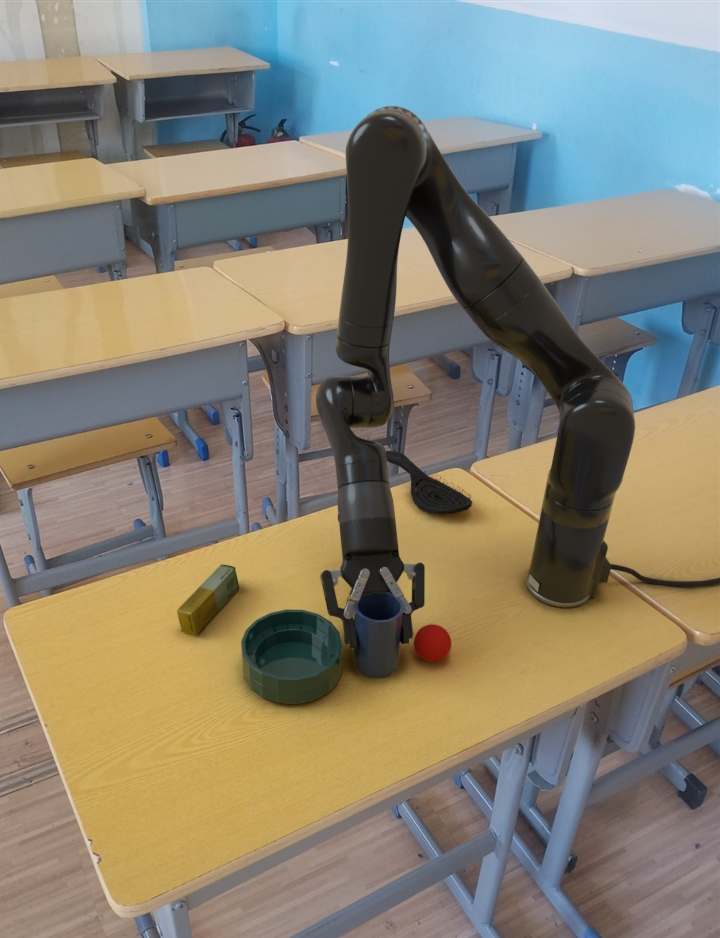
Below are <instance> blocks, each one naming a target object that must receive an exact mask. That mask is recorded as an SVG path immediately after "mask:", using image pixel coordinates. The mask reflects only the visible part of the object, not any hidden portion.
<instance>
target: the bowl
mask: <svg viewBox="0 0 720 938" xmlns="http://www.w3.org/2000/svg"><path fill="white" fill-rule="evenodd" d="M240 645H241V647H240V648H241V657H242V658H241V659H242V671H243V672H242V673H243V679H244V680H245V682H246V684H247V685H248V687H249V689H250V690H252V692H254V693H255V694H257V695H258V696H260V697H261V698H262V699H264V700H268V701H272V702H274V703H278V704H285V705H287V704H289V705H298V704H303V703H307V702H311V701H315V700H317V699H320V698H321V697H323V696H324V695H326V694H327V693H329V692H330V691H331V690H332V689H333V687H334V686H335V685H336V684H337V683H338V682H339V680H340V676H341V672H342V668H343V642H342V637H341V633H340V631H339V630H338V628H337V627H336V626H335V624H334V623H333V622H332V621H331V620H330V619H328V618H326V617H324V616H323V615H321V614H320V613H317V612H313V611H309V610H306V609H291V608H290V609H280V610H277V611H273V612H269V613H267V614H265V615H263V616H261V617H259V618H257V619H256V620H254V621H253V622H252V623H251V624H250V625H249V626H248V627H247V628H246V629H245V632H244V633H243V636H242V638H241V641H240Z"/></svg>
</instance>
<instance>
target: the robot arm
mask: <svg viewBox="0 0 720 938" xmlns="http://www.w3.org/2000/svg"><path fill="white" fill-rule="evenodd" d="M345 168H346V169H345V173H346V189H347V210H348V212H347V214H348V215H347V216H348V217H347V218H348V219H347V222H348V223H347V224H348V227H347V228H348V229H347V248H346V258H345V269H344V275H343V284H342V289H341V295H340V296H341V297H340V303H339V304H340V305H339V313H338V320H337V321H338V322H337V331H336V339H335V340H336V341H335V352H336V355H337V357H338V359H339V360H340V361H342V362H343V363H344V364H346V365H350V366H353V367H358V368H361V369H365V370H367V375H332V376H328V377H325V379H323V380H322V381H321V382H320V384H319V385H318V387H317V390H316V395H315V406H316V411H317V413H318V417H319V420H320V422H321V425H322V427H323V430H324V433H325V434H326V437H327V439H328V443H329V445H330V449H331V452H332V456H333V460H334V465H335V474H336V475H335V476H336V485H337V522H338V526H339V538H340V546H341V557H342V562H341V565H340V568H337V569H332V570H329V569H325V570H323V571H322V572H321V573H320V582H321V586H322V591H323V592H322V593H323V596H324V602H325V606H326V610H327V614H328V616H330V617H335V618H337V619H340V620H341V621H342V630H343V639H344V643H345V644H346V646H347V645H349V648H350V650H353V649H354V648H357V636H356V627H355V619H354V606H355V602H356V600H360V597H361V595H362V594H364V595H365V596H370V595H372V594H375V593H376V594H386V593H387V592H390V593H392V594H393V595H394V597H399V598H400V599H401V600H402V603H403V606H404V611H403V623H402V634H401V645H407V644H410V640H412V639H413V637H414V630H413V620H412V614H413V613H414V612H415V611H417V610H419V609H422V608H424V606H425V601H426V599H425V597H426V595H425V594H426V593H425V591H426V589H425V588H426V585H425V582H426V581H425V579H426V578H425V577H426V575H425V573H426V569H425V568H426V567H425V564H424V563H423V562H417V563H404V562H403V560H402V558H401V555H400V551H399V550H400V549H399V542H398V541H399V540H398V532H397V522H396V511H395V504H394V498H393V494H392V490H391V485H390V477H389V475H390V474H389V467H388V466H389V465H388V461H387V455H386V451H387V450H386V448H385V446H384V445H383V444H381V443H380V442H377V441H373V440H369V439H364V438H362V437H360V436H357V435H356V434H355V433H354V432H353V430H352V429H360V428H361V429H363V428H380V427H382V426H384V425H385V424H387V422H389V420H390V419H391V417H392V416H393V412H394V410H395V409H394V408H395V400H394V399H395V398H394V397H395V396H394V390H393V385H392V378H391V369H390V367H391V366H390V347H391V338H392V332H393V325H394V319H395V310H396V302H397V286H398V285H397V283H398V278H397V277H398V261H399V260H398V259H399V252H400V251H399V250H400V243H401V237H402V232H403V227H404V223H405V219H406V218H407V219H408V221H409V222H410V223H411V224H412V225H413V227H414V228H415V230H416V231H417V232H418V234H419V235H420V237H421V239H422V241H423V242H424V243H425V246H426V247H427V249H428V251H429V253H430V256H431V257H432V259H433V261H434V263H435V265H436V268H437V269H438V271H439V273H440V276H441V277H442V279H443V281H444V283H445V285H446V286H447V288H448V290H449V291H450V293H451V294H452V297H454V299H455V301H456V302H457V303H458V304H459V306H460V307H461V308H462V309H463V311H464V313H466V314H467V316H468V317H469V318H470V320H471V321H472V322H473V323H474V324H475V326H476V327H477V328H478V329H479V330H480V331H481V332H482V333H483V335H485V336H486V337H487V338H488V340H490V341H491V343H493V344H495V345H496V346H497V347H498V348H500V349H501V350H504V351H505V352H506V353H508V354H509V355H511V356H512V357H514V358H515V359H517V360H518V361H520V362H521V363H523V365H525V366H526V367H527V368H529V369H530V370H531V372H532V373H533V374H534V376H536V377H537V379H538V380H539V381H540V383H541V384H542V386H543V387H544V389H545V390H546V391H547V393H548V394H549V396H550V397H551V399H552V401H553V403H554V404H555V406H556V408H557V410H558V413H559V414H558V415H559V419H558V430H557V436H556V441H555V446H554V451H553V457H552V460H551V461H552V462H551V465H550V468H549V470H548V473H547V478H546V483H545V489H544V493H543V497H542V498H543V499H542V503H541V508H540V514H539V519H538V525H537V529H536V535H535V540H534V546H533V551H532V554H531V561H530V564H529V569H528V574H527V578H526V587H527V589H528V592H529V593H530V594H531V595H532V596H533V597H534V598H535V599H537V600H538V601H540V602H542V603H544V604H547V605H549V606H551V607H552V606H553V607H555V608H556V607H557V608H575V607H579V606H581V605H584V604H585V603H586V602H588V600H589V599H595V598H596V596H597V593H598V589H599V584H607V583H608V582H609V577H610V574H611V571H617V572H624V573H626V574H629V575H631V576H633V577H634V578H636V579H637V580H639V581H640V582H644V583H647V584H651V585H658V586H667V587H678V588H679V587H682V588H683V587H684V588H685V587H705V586H713V585H718V584H720V577H717V578H712V579H704V580H690V581H688V580H687V581H685V580H683V581H682V580H680V581H678V580H664V579H657V578H653V577H648V576H645V575H642V574H641V573H639V572H638V571H636V570H635V569H633V568H630V567H627V566H623V565H619V564H613V563H610V562H609V560H608V558H607V553H608V550H609V545H608V543H607V542H606V541H605V537H606V534H607V529H608V525H609V521H610V518H611V513H612V510H613V505H614V501H615V498H616V494H617V491H619V489H620V487H621V485H622V482H623V479H624V475H625V472H626V468H627V466H628V461H629V458H630V454H631V452H632V448H633V444H634V439H635V433H636V420H635V419H636V418H635V413H634V412H635V411H634V404H633V399H632V396H631V393H630V391H629V390H628V388H627V387H626V385H625V384H624V383H623V382H622V380H621V379H620V378H619V377H618V376H617V375H616V374H615V373H614V372H613V371H612V370H611V369H610V368H609V367H608V366H607V365H606V364H605V363H604V362H603V361H602V360H601V359H600V357H598V356H597V354H595V352H593V351H592V350H591V349H590V348H589V346H588V345H586V343H585V342H584V341H583V340H582V338H581V337H580V336H579V335H578V333H577V332H576V330H575V329H574V327H573V326H572V325H571V323H570V322H569V320H568V318H567V316H566V315H565V313H564V312H563V310H562V309H561V307H560V306H559V305H558V303H557V301H556V300H555V299H554V297H553V296H552V294H551V293H550V291H549V290H548V288H547V286H545V284H544V283H543V281H542V280H541V278H540V277H539V276H538V275H537V273H536V272H535V270H534V269H533V268H532V266H531V265H530V264H529V263H528V261H527V260H526V259H525V258H524V256H523V255H522V254H521V252H520V251H519V250H518V249H517V248H516V246H515V245H514V244H513V243H512V242H511V241H510V239H509V238H508V237H507V235H506V234H504V232H503V231H502V230H501V229H500V228H499V226H497V224H496V223H495V222H494V221H493V219H492V218H491V217H490V216H489V215H488V214H487V212H485V211H484V210H483V209H482V208H481V206H480V205H479V204H478V203H477V202H476V201H475V200H474V199H473V198H472V196H471V195H470V194H469V193H468V192H467V190H466V189H465V187H464V186H463V185H462V184H461V182H460V181H459V179H458V178H457V176H456V175H455V173H454V171H453V170H452V168H451V167H450V164H449V163H448V162H447V161H446V159H445V157H444V156H443V154H442V153H441V150H440V148H439V147H438V145H437V144H436V142H435V140H434V139H433V137H432V135H431V134H430V131H429V130H428V128H427V127H426V124H425V123H424V121H422V120H421V118H420V117H419V116H418V115H417V114H415V113H414V112H413V111H411V110H410V109H407V108H405V107H402V106H397V105H385V106H381V107H378V108H376V109H375V110H373V111H371V112H369V113H368V114H367V115H366V116H365V117H363V119H361V120H360V121H358V123H357V124H356V126H355V127H354V128H353V129H352V131H351V133H350V134H349V137H348V140H347V142H346V147H345ZM403 572H404V573H405V574H406V577H407V579H408V580H409V581H411V601H410V602H408V600H407V598H406V597H405V594H404V592H403V590H402V588H401V587H400V586H399V584H398V581H399V580H400V579H401V576H402V574H403ZM340 577H341V578H342V580H344V581H345V582H346V584H347V585H348V587H350V588H351V589H350V591H349V593H348V596H347V599H346V602H345V604H344V608H343V607H340V606H339V603H338V598H337V595H336V590H335V587H336V586H337V585H338V584H339V578H340Z"/></svg>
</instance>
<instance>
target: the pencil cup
mask: <svg viewBox="0 0 720 938" xmlns="http://www.w3.org/2000/svg"><path fill="white" fill-rule="evenodd" d="M403 611H404V606H403V603H402V600H401V599H400V598H399V597H394V595H393V594H392V593H390V592H387V593H386V594H376V593H375V594H372V595H370V596H365V595H364V594H362V595H361V597H360V600H356V602H355V606H354V614H353V619H355V627H356V636H357V648H354V649H352V665H353V667H354V668H355V670H356V671H357V672H358V673H359V674H360V675H362V676H365V677H367V678H371V679H383V678H387V677H389V676H392V675H393V674H394V673H395V672H396V671H397V670H398V668H399V666H400V665H399V663H400V656H401V645H402V644H401V634H402V623H403Z"/></svg>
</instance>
